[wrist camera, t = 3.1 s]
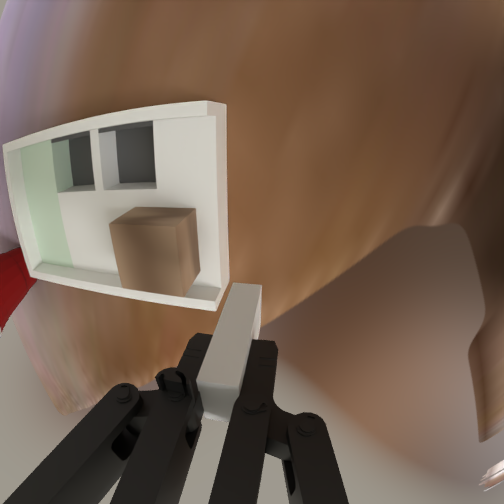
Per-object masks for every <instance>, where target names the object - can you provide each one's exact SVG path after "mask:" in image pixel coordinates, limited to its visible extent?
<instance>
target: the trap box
mask: <svg viewBox="0 0 504 504" xmlns="http://www.w3.org/2000/svg"><path fill="white" fill-rule="evenodd" d="M3 156H4V165H5V173H6V180H7V186H8V192H9V198H10V203H11V208H12V213H13V217H14V222H15V226H16V230H17V234H18V238H19V242H20V245H21V249H22V252H23V255H24V259H25V262H26V265H27V268H28V271H29V274H30V277H33V278H37V279H41V280H45V281H50V282H54V283H58V284H62V285H67V286H71V287H76V288H81V289H85V290H90V291H95V292H100V293H105V294H110V295H116V296H121V297H126V298H132V299H138V300H144V301H149V302H156V303H162V304H168V305H175V306H181V307H188V308H195V309H203V310H210V311H216V310H217V308H218V305H219V303H220V301H221V298H222V296H223V294H224V292H225V289H226V287H227V285H228V282H229V280H230V277H229V246H228V207H227V127H226V104H223V103H218V102H212V101H193V102H182V103H173V104H164V105H156V106H149V107H142V108H136V109H130V110H124V111H119V112H114V113H109V114H104V115H99V116H95V117H90V118H86V119H82V120H78V121H74V122H70V123H66V124H63V125H59V126H56V127H52V128H49V129H46V130H43V131H39V132H36V133H33V134H30V135H27V136H25V137H22V138H19V139H16V140H14V141H11V142H8V143H6V144H3ZM134 207H172V208H196V218H197V233H198V246H199V259H200V270H201V271H200V273H199V274H198V276H197V277H196V279H195V281H194V282H193V284H192V285H191V287H190V289H189V290H188V292H187V293H186V295H185V297H177V296H170V295H163V294H156V293H149V292H143V291H137V290H130V289H124V288H122V285H121V281H120V277H119V273H118V268H117V264H116V259H115V254H114V250H113V245H112V239H111V234H110V229H109V223H111V222H112V221H114V220H115V219H117V218H118V217H120V216H121V215H123V214H125V213H126V212H128V211H129V210H131V209H133V208H134Z"/></svg>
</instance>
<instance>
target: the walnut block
mask: <svg viewBox="0 0 504 504" xmlns="http://www.w3.org/2000/svg"><path fill="white" fill-rule="evenodd" d="M109 229H110V234H111V239H112V245H113V250H114V254H115V259H116V264H117V268H118V273H119V277H120V281H121V285H122V288H124V289H130V290H137V291H143V292H149V293H156V294H163V295H170V296H177V297H185V295H186V293H187V292H188V290H189V289H190V287H191V285H192V284H193V282H194V281H195V279H196V277H197V276H198V274H199V273H200V271H201V270H200V259H199V246H198V233H197V218H196V208H172V207H134V208H133V209H131V210H129V211H128V212H126V213H125V214H123V215H121V216H120V217H118V218H117V219H115V220H114V221H112V222H111V223H109Z"/></svg>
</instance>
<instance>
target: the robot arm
mask: <svg viewBox="0 0 504 504" xmlns="http://www.w3.org/2000/svg"><path fill="white" fill-rule="evenodd" d="M261 293H262V285H256V284H244V283H233V284H232V287H231V289H230V292H229V295H228V297H227V300H226V302H225V305H224V308H223V310H222V313H221V316H220V318H219V321H218V324H217V326H216V329H215V331H214V334H213V335H210V334H202V333H197V334H195V335H194V336H193V337H192V338H191V339H190V340H189V342H188V344H187V347H186V349H185V351H184V353H183V356H182V357H181V360H180V362H179V364H178V366H177V368H167V369H164V370H162V371H160V372H159V373H158V374H157V375H156V377H155V378H156V381H157V384H158V386H159V389H158V390H152V391H138V389H137V388H136V387H135V386H134V385H132V384H129V383H121V384H118V385H116V386H114V387H113V388H112V389H111V390H110V391H109V392H108V393H107V394H106V395H105V396H104V397H103V398H102V399H101V400H100V401H99V402H98V403H97V404H96V405H95V407H94V408H93V409H92V410H91V411H90V412H89V413H88V414H87V415H86V416H85V417H84V418H83V419H82V420H81V421H80V422H79V423H78V424H77V426H75V427H74V429H73V430H72V431H71V432H70V433H69V434H68V435H67V436H66V437H65V438H64V439H63V440H62V441H61V442H60V443H59V445H57V447H56V448H55V449H54V450H53V451H52V452H51V453H50V454H49V455H48V456H47V457H46V458H45V459H44V460H43V461H42V462H41V463H40V465H39V466H38V467H37V468H36V469H35V470H34V471H33V472H32V473H31V474H30V475H29V476H28V477H27V478H26V480H25V481H24V482H23V483H22V484H21V485H20V486H19V487H18V488H17V489H16V490H15V491H14V492H13V493H12V494H11V496H10V497H9V498H8V499H7V500H6V501H5V502H4V503H3V504H98V503H99V502H100V501H101V500H102V499H103V497H104V496H105V495H106V494H107V492H108V491H109V490H110V489H111V488H112V486H113V485H114V484H115V483H116V481H117V480H118V479H119V478H120V476H121V475H122V476H121V478H120V481H119V483H118V486H117V488H116V490H115V493H114V495H113V497H112V500H111V502H110V504H178V503H179V500H180V497H181V494H182V490H183V487H184V484H185V481H186V477H187V474H188V471H189V468H190V464H191V461H192V458H193V455H194V451H195V449H196V445H197V442H198V439H199V436H200V432H201V428H202V427H201V426H202V424H201V419H202V416H203V413H204V417H205V418H207V419H212V420H218V421H224V422H229V426H228V430H227V434H226V438H225V442H224V445H223V449H222V453H221V457H220V461H219V465H218V469H217V473H216V477H215V480H214V484H213V488H212V492H211V495H210V499H209V503H208V504H257V499H258V493H259V487H260V482H261V475H262V469H263V463H264V457H265V453H267V454H269V455H272V456H274V457H277V458H279V459H281V460H282V465H283V471H284V477H285V482H286V488H287V493H288V498H289V504H349V503H348V499H347V495H346V492H345V488H344V485H343V482H342V478H341V474H340V471H339V468H338V464H337V461H336V458H335V454H334V450H333V447H332V444H331V440H330V437H329V434H328V431H327V427H326V424H325V422H324V421H323V419H322V418H321V417H319V416H318V415H316V414H313V413H304V412H303V413H300V414H297V415H293V414H291V413H288V412H285V411H283V410H281V409H280V408H279V407H278V406H277V405H276V404H275V402H274V400H273V392H274V383H275V375H276V366H277V356H278V348H277V346H276V344H275V341H268V340H258V335H259V330H260V324H261Z"/></svg>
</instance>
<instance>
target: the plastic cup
mask: <svg viewBox="0 0 504 504" xmlns="http://www.w3.org/2000/svg"><path fill="white" fill-rule="evenodd" d="M36 280H37V278H33V277H30V274H29V271H28V268H27V265H26V262H25V259H24V255H23V252H22V249H21V248H16V249H13V250H11V251H9V252H6V253H2V254H0V338H1V336H2V330H3V328H4V326H5V324H6V322H7V321H8V318H9V317H10V315H11V314H12V313H13V311H14V310H15V309H16V307H17V306H18V305H19V303H20V302H21V301H22V299H23V298H24V297H25V295H26V294H27V292H28V291H29V289H30V288H31V287H32V286H33V285H34V283H35V282H36Z"/></svg>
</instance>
